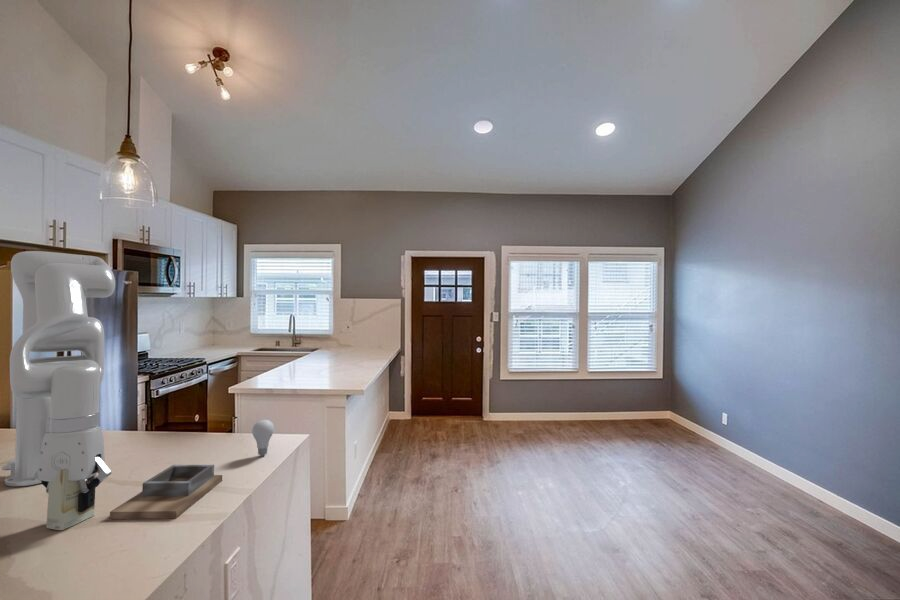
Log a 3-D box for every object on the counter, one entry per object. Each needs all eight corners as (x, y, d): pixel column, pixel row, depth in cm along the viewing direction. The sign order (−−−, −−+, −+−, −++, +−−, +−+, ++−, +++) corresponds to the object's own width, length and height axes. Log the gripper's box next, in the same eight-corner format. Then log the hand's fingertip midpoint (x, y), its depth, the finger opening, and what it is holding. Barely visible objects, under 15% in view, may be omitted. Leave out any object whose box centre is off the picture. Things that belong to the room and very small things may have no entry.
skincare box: (61, 531, 78) (63, 471, 78) (45, 528, 78) (47, 469, 79) (96, 515, 84) (98, 458, 84) (81, 512, 85) (82, 457, 85)
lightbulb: (258, 461, 114) (259, 424, 114) (247, 456, 117) (248, 420, 117) (277, 454, 119) (278, 419, 119) (266, 450, 122) (266, 416, 123)
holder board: (109, 518, 82) (110, 497, 83) (167, 480, 100) (168, 463, 101) (176, 518, 83) (176, 497, 83) (222, 480, 101) (222, 463, 101)
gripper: (14, 428, 78) (10, 519, 77) (101, 428, 78) (98, 518, 78) (51, 418, 85) (48, 500, 85) (130, 418, 86) (127, 499, 85)
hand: (72, 508), depth 81 cm, fingers closed on skincare box, 5 cm apart
